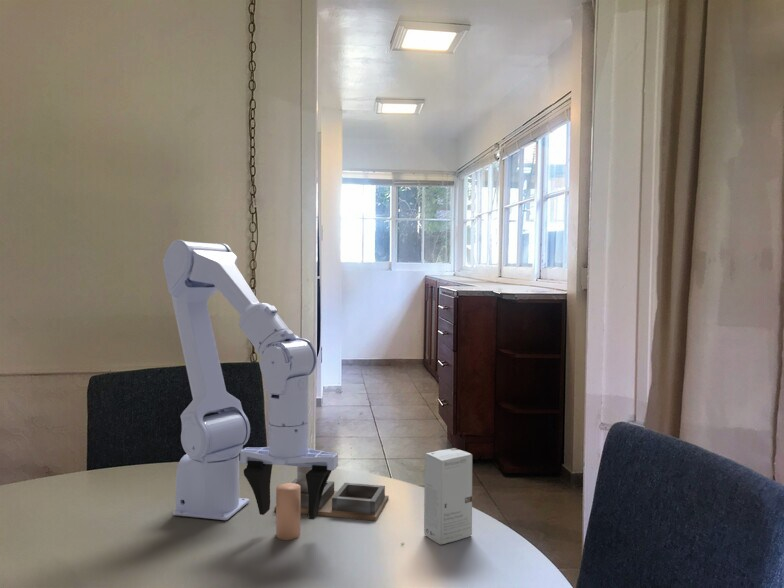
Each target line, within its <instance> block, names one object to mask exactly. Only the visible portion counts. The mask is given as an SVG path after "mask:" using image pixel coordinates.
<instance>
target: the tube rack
mask: <svg viewBox="0 0 784 588" xmlns="http://www.w3.org/2000/svg"><path fill="white" fill-rule="evenodd" d="M296 467H297V468H296V469H297V470H296V473H297V474H296V475H297V476H296V477H297V478H295V479H293V480H292V481H291V482H290V483H295V484H299V485H300V487H301V489H300V515H301V514H302V515H303V514H304V515H308V505H309V495H308V486H307V480H306V473H308V472H309V471H310V470H312V467H302V466H296ZM389 500H390V499H389V495H386V486H385V485H378V484H367V483H366V484H365V483H353V482H344V483H343V484H342V485H341V486H340V488H339V489H338V490H337V491H336V490H335V481H329V480H327V482H326V485H325V487H324V490H323V493H322V497H321V500H320V505H319V510H318V515H317V516H321V517H322V516H325V517H334V518H345V519H354V520H366V521H375V522H376V521H377V520H378V518H379V516H380V515H381V513H382V512H383V509H384V508H385V506H386V504H387V503H388V501H389ZM274 512H276V505H275V506H274Z"/></svg>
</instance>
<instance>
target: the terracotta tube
mask: <svg viewBox="0 0 784 588" xmlns="http://www.w3.org/2000/svg"><path fill="white" fill-rule="evenodd" d="M275 489H276V490H275V491H276V492H275V493H276V495H275V496H276V497H275V499H276V501H275V504H276V505H275V506H276V511H275V515H276V516H275V524H276V525H275V527H276V528H275V535H276V536H275V537H276V538H277V539H278V540H282V541H289V540H295V539H297V538H299V537H300V536H301V513H300V489H301V487H300V485H299V484H295V483H291V482H287V483H281V484H278V485H277V486H276V488H275Z"/></svg>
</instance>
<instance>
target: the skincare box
mask: <svg viewBox="0 0 784 588" xmlns="http://www.w3.org/2000/svg"><path fill="white" fill-rule="evenodd" d="M423 490H424V492H423V493H424V501H423V502H424V503H423V504H424V505H423V507H424V508H423V510H424V512H423V517H424V518H423V534H424V536H426V537H427V538H429V539H430V540H432V541H433V542H434V543H436V544H438V545H439V546H440V545H445V544H448V543H452V542H456V541H460V540H462V539H467V538H469V537H471V536H472V535H473V454H472V453H470V452H468V451H465V450H461V449H458V448H456V447H453V448H447V449H439V450H436V451H435V450H434V451H432V452H431V451H430V452H425V454H424V489H423Z"/></svg>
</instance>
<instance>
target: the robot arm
mask: <svg viewBox="0 0 784 588" xmlns="http://www.w3.org/2000/svg"><path fill="white" fill-rule="evenodd" d="M162 264H163V265H162V266H163V271H164V274H165V280H166V284H167V290H168V293H169V295H171V300H172V306H173V311H174V315H175V321H176V324H177V325H176V326H177V330H178V335H179V338H180V345H181V348H182V350H181V351H182V354H183V359H184V363H185V364H184V365H185V369H186V373H187V378H188V382H189V387H190V392H191V396H192V397H191V398H192V401H191V402H190V403H189V404H188V406H187V407H186V408H185V409H184V410H183V411H182V413H181V414H180V421H181V433H180V442H181V446H182V449H183V451H184V452H185V453H186V454H184V455H183V456H182V457H181V458H180V460H179V462H178V463H177V467H176V472H175V510H174V511H173V512H172V515H173V516H178V517H181V516H182V517H189V518H202V519H208V520H209V519H210V520H211V519H212V520H220V521H221V520H222V521H227V520H229V519H230V518H231V517H232V516H234V515H235V514H236V513H238V512H239V511H240V510H241V509H242V508H244V506H245V505H247V504H248V503H250V498H244V497H243V498H242V497H240V464H241V465H246V468H244V469H243V475H244V477H245V479H246V480H247V481H248V484H249V485H250V487H251V490H252V491H253V492H252V493H253V495H254V497H255V501H256V504H257V508H258V514H259V515H261V516H264V515H265V514H266V513H268V512H269V511H270V509H271V507H270V506H271V478H272V472H273V471H272V470H273V465H277V466H287V467H289V466H291V467H297V466H302V467H312V470H310V471H309V472H308V473H306V480H307V486H308V495H309V505H308V514H307V516H308V519H309V520H315V519H316V517H317V516H319V515H318V510H319V505H320V500H321V497H322V493H323V490H324V487H325V485H326V482H327V481H329V480H328V479H329V478H330V475H331V473H332V471H335V470H336V469H337V468H338V466H339V453H336V452H328V451H324V450H319V449H318V450H317V449H314V448H309V376H310V375H311V374H312V373H314V371H315V370H316V366H317V363H318V362H317V359H318V358H317V352H316V350H315V348H314V346H313V344H312V342H311V341H310V340H308V339H307V338H303V337H299V336H298V334H294V331H292V330H291V329H290V328H289V327H288V326H287V323H285V322H284V320H283V319H282V317H280V315H279V314H278V309H277V308H276V306H275V305H271V304H270V303H267V302H260V301H259V299H258V298H257V296H256V295H255V293H254V291H253V290H252V289H251V287H250V286H249V284H248V282H247V281H246V279H245V278H244V276H243V275H242V272H241V271H240V270H239V268H238V257H237V255H236V254H235V253H234V252H233V250H232V249H231V247H230V245H228V244H227V243H223V242H218V243H214V242H213V243H209V242H201V241H200V242H199V241H186V240H183V239H175V240H174V241H172V242H171V243H170V244H169V246H168V247H167V250H166V253H165V255H164V257H163V260H162ZM217 292H219V293H220V294H222V296H223V297H224V298H225V300H227V302H228V303H229V304H230V305H231V307H233V309H235V310H236V312H237V313H238V314H239V315H240V316H239V317H240V318H239V320H238V321H239V322H238V325H239V328H240V329H241V331H242V332H243V334H244V335H245V336H246V338H247V339H248V340H249V342H250V343H251V345H252V346H253V348H254V349H255V350H256V352H257V353H258V354H259V356H260V357H261V359H260V360H258V361H259V369H260V372H261V373H262V376H263V377H264V381H265V389H266V392H267V393H268V446H263V447H251V446H250V447H249V446H248V447H244V446H245V445H246V444H247V443H248V441H249V439H250V436H251V435H250V434H251V424H250V421H249V418H248V416H247V415H246V413H245V412H244V410H243V406H242V402H241V401H240V399H238V398H236V396H234V395H232V394H230V393H229V392H228V391H227V388H226V384H225V379H224V375H223V374H224V373H223V370H222V366H221V361H220V358H219V351H218V347H217V343H216V338H215V333H214V330H213V325H212V324H213V323H212V321H211V320H212V319H211V316H210V311H209V307H208V301H209V299H210V297H212V296H213V295H215V294H216V293H217ZM213 413H217V414H213ZM208 414H212V415H208ZM205 415H208V416H205Z"/></svg>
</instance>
